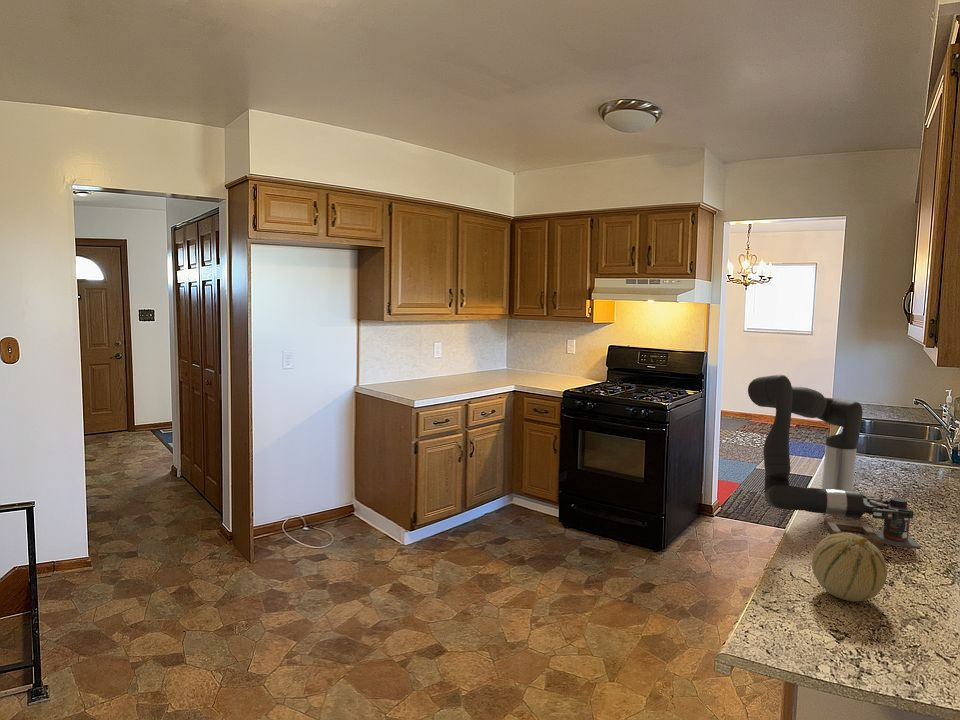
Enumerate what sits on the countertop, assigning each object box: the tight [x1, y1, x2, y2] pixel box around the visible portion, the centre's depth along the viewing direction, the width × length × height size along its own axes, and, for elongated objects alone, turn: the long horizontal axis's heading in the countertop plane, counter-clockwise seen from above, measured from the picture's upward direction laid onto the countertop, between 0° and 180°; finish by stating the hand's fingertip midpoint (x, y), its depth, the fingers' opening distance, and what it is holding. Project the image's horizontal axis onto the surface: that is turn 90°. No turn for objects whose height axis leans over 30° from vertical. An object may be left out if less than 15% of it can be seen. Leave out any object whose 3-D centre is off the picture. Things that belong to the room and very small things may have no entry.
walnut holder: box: [823, 517, 884, 549], centre depth 180 cm, size 16×11×2 cm
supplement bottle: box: [882, 496, 911, 541], centre depth 177 cm, size 6×6×11 cm
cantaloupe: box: [811, 532, 888, 603], centre depth 142 cm, size 15×15×15 cm
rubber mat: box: [873, 530, 921, 549], centre depth 177 cm, size 9×9×1 cm
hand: (908, 510), depth 176 cm, fingers open, 6 cm apart
